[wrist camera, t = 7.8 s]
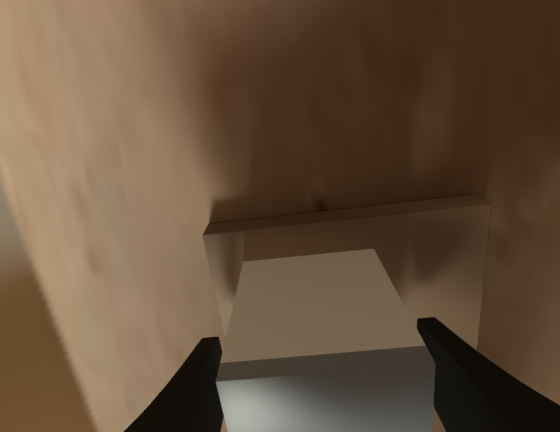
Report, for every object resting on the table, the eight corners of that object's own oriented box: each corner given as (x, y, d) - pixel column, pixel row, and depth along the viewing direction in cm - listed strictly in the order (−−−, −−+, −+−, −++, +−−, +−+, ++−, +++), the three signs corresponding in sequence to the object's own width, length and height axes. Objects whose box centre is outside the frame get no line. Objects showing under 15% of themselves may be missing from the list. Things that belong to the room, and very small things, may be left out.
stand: (453, 461, 20) (505, 578, 15) (261, 474, 20) (254, 591, 16) (475, 194, 14) (570, 249, 9) (208, 223, 15) (173, 289, 10)
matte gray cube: (376, 352, 16) (428, 505, 10) (261, 362, 16) (248, 516, 10) (373, 248, 14) (435, 363, 8) (243, 261, 14) (215, 381, 8)
